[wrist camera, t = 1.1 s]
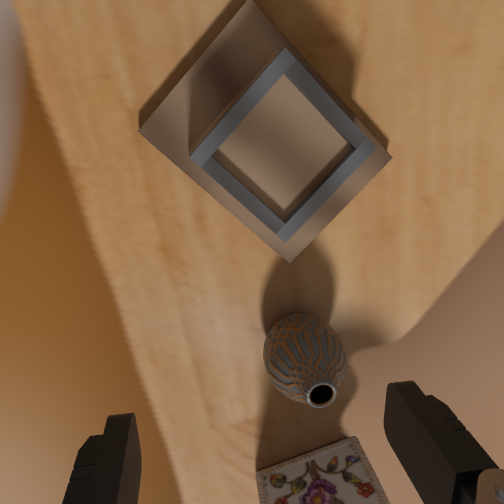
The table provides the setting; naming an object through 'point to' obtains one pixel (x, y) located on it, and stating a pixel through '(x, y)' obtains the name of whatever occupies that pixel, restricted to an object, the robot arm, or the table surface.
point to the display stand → (265, 134)
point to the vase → (305, 359)
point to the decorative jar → (323, 478)
